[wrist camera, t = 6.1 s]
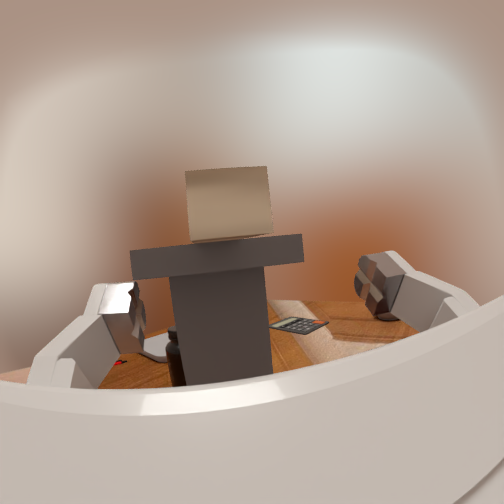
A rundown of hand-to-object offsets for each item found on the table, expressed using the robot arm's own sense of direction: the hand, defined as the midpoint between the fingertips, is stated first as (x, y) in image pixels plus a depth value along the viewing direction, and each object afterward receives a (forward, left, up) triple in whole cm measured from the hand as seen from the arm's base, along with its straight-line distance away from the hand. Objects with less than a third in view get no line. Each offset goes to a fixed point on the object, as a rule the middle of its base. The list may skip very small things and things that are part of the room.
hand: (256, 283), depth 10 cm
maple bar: (+8, +9, +2) cm, 12 cm away
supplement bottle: (+23, +33, -25) cm, 47 cm away
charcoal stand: (+11, +12, -24) cm, 29 cm away
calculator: (+65, +31, -25) cm, 76 cm away
